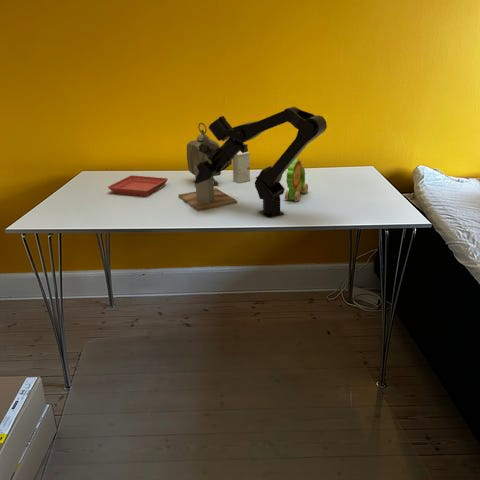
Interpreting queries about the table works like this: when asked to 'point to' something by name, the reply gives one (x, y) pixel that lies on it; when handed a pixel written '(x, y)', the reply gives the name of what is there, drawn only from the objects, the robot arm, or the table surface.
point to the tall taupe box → (204, 189)
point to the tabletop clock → (195, 155)
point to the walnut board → (218, 201)
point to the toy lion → (295, 181)
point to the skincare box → (241, 167)
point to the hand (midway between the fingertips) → (200, 179)
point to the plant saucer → (138, 185)
